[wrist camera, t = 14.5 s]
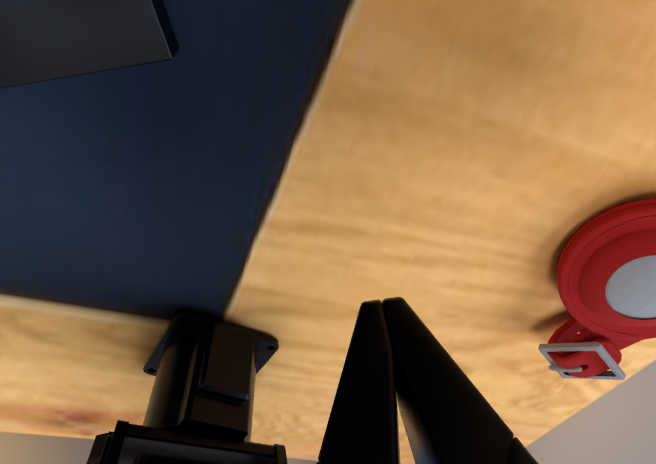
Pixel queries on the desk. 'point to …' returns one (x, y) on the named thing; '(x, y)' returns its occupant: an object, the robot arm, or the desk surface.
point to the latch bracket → (80, 37)
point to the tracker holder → (606, 292)
